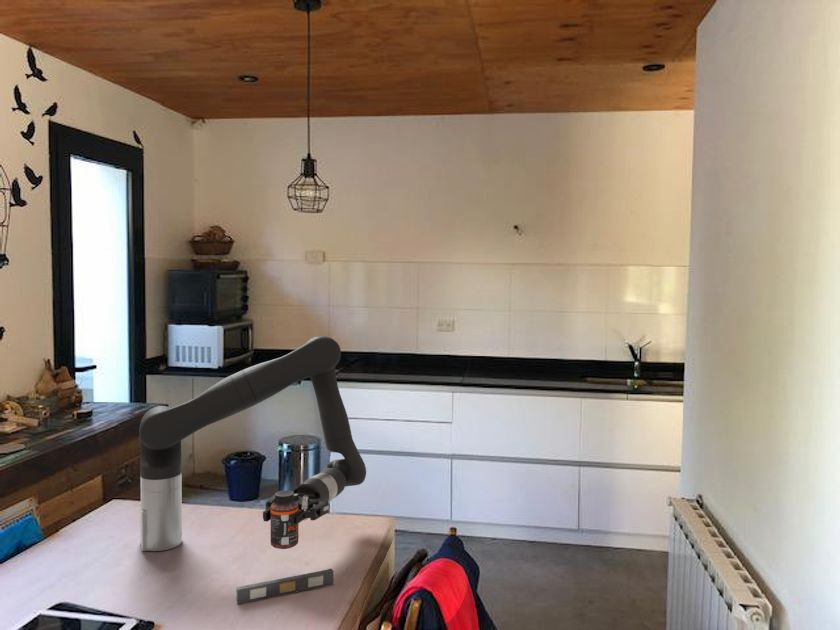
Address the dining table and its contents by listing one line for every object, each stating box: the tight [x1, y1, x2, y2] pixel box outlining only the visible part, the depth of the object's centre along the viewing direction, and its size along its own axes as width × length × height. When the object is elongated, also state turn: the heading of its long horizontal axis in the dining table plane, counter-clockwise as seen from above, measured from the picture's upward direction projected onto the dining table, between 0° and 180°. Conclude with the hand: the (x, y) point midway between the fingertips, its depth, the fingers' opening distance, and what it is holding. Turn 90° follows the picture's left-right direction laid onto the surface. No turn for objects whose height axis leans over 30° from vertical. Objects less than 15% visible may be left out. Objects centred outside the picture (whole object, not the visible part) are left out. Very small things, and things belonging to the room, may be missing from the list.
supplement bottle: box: [270, 489, 300, 550], centre depth 140 cm, size 6×6×11 cm
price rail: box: [236, 568, 335, 605], centre depth 135 cm, size 20×2×3 cm, turn 116°
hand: (278, 519), depth 138 cm, fingers closed on supplement bottle, 6 cm apart
